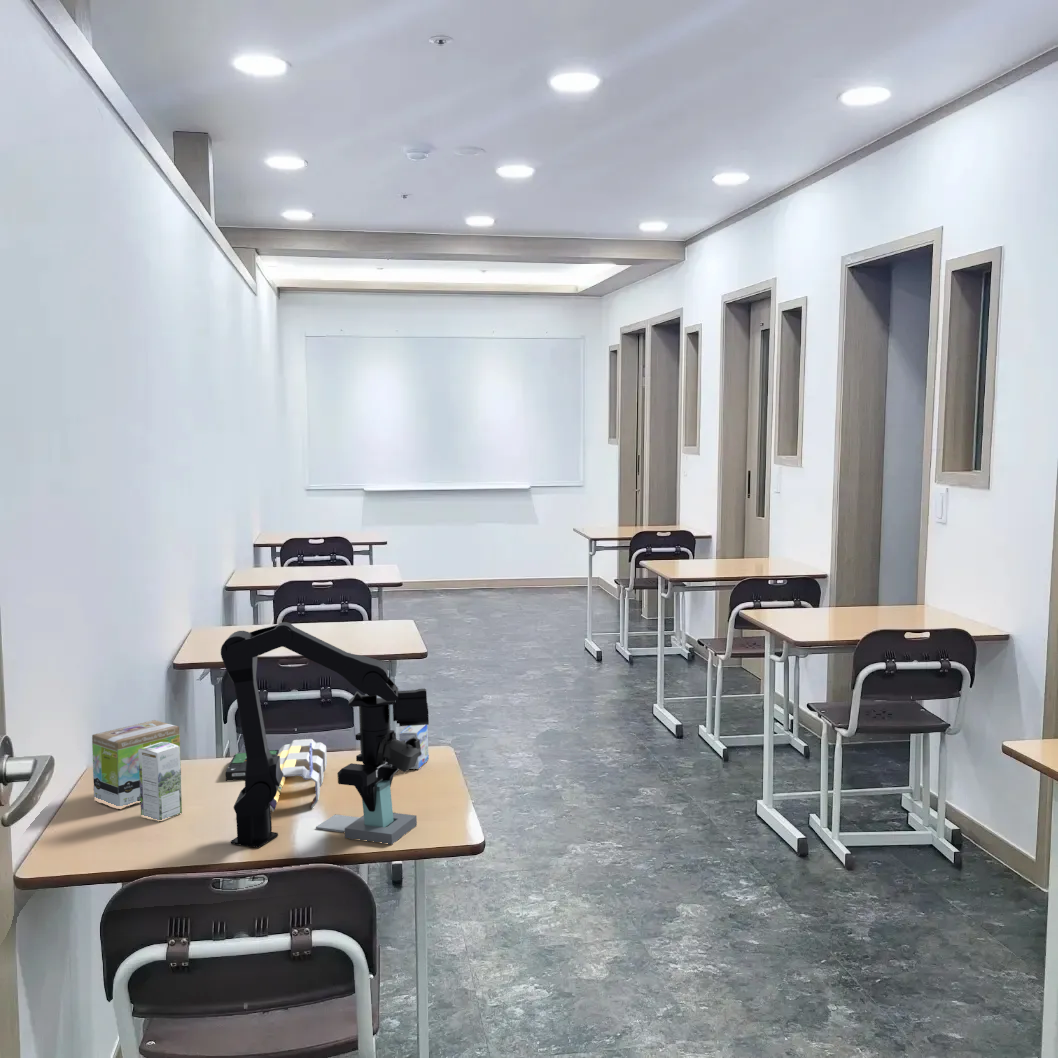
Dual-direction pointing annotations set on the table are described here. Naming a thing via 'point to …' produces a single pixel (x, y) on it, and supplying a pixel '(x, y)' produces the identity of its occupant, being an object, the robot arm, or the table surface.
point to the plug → (380, 807)
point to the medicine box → (422, 735)
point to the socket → (381, 829)
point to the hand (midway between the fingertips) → (377, 807)
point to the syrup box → (160, 780)
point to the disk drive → (240, 766)
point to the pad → (337, 823)
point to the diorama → (302, 764)
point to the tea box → (125, 759)
